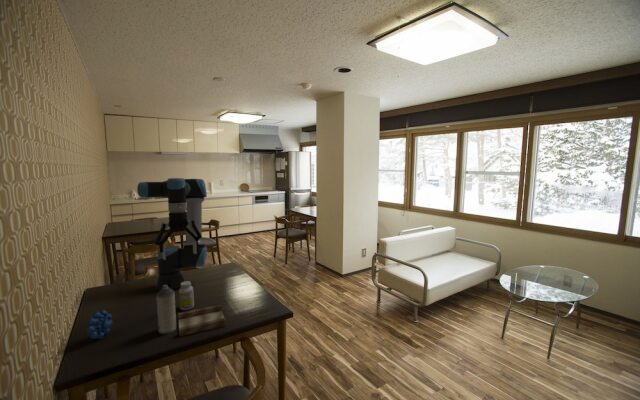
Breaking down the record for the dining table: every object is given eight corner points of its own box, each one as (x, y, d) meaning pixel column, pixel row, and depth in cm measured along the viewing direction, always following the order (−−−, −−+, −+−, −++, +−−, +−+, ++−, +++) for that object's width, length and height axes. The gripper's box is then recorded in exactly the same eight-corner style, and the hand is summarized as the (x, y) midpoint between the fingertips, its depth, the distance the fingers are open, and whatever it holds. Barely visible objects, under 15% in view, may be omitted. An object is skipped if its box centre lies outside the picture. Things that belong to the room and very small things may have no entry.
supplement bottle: (182, 304, 148) (181, 280, 147) (196, 304, 148) (194, 280, 147) (177, 310, 141) (176, 285, 140) (191, 310, 142) (190, 285, 140)
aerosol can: (172, 324, 129) (170, 281, 127) (179, 329, 125) (176, 285, 123) (156, 330, 124) (153, 285, 122) (162, 336, 120) (159, 290, 118)
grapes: (98, 347, 112) (96, 318, 111) (82, 346, 113) (80, 317, 112) (121, 330, 124) (119, 304, 123) (107, 330, 124) (105, 303, 123)
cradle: (179, 336, 120) (178, 330, 119) (178, 318, 134) (178, 313, 134) (226, 325, 128) (226, 319, 128) (221, 309, 142) (221, 304, 142)
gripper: (148, 215, 122) (151, 263, 125) (207, 209, 139) (209, 252, 141) (145, 213, 128) (148, 259, 130) (202, 208, 144) (204, 249, 147)
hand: (180, 256), depth 136 cm, fingers open, 13 cm apart
